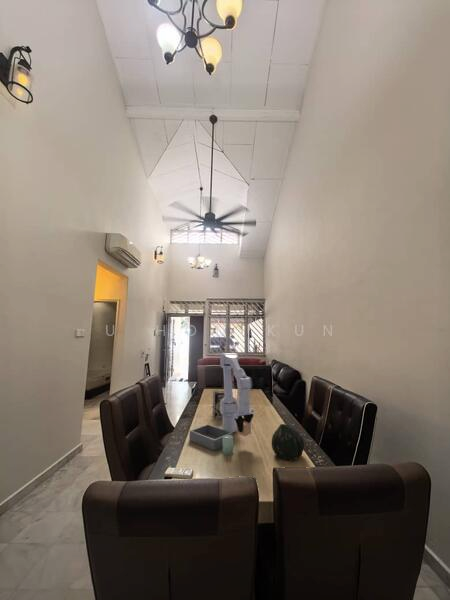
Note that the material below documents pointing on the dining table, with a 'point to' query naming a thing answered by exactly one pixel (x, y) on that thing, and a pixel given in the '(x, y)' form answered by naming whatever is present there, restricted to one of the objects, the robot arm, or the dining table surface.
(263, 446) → the dining table surface
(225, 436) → the sage cylinder
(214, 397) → the coffee box
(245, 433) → the terracotta cube
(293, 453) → the squash
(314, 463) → the dining table surface
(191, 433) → the tray
